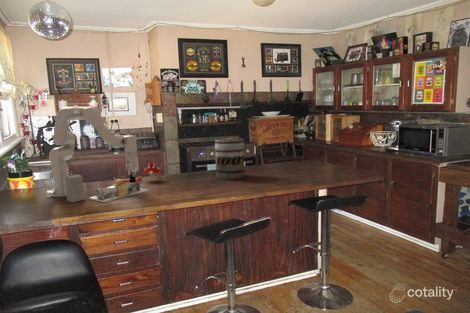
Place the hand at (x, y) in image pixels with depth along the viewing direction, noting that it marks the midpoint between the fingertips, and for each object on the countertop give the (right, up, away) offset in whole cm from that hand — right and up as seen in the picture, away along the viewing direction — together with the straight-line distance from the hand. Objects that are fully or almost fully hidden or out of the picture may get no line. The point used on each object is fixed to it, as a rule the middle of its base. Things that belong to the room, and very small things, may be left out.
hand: (132, 182), depth 235 cm
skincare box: (-32, -11, -12) cm, 36 cm away
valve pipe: (-9, -8, 0) cm, 12 cm away
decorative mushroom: (+4, -3, +41) cm, 41 cm away
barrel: (+63, 0, +50) cm, 80 cm away
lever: (-3, 0, +2) cm, 4 cm away
